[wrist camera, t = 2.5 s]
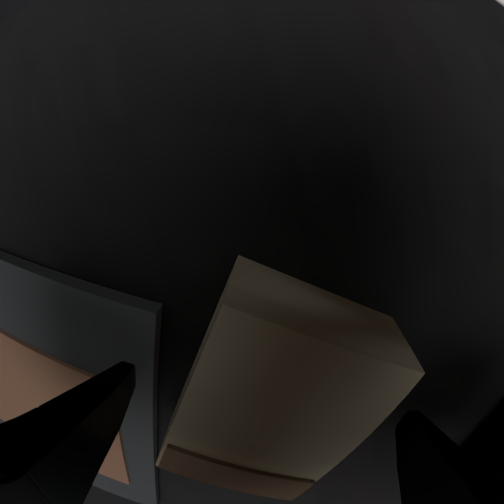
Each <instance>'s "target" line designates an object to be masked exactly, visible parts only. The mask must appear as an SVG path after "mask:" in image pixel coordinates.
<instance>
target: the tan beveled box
mask: <svg viewBox="0 0 504 504" xmlns="http://www.w3.org/2000/svg"><path fill="white" fill-rule="evenodd" d="M424 374H425V372H424V370H423V368H422V366H421V365H420V363H419V361H418V359H417V358H416V356H415V354H414V353H413V351H412V349H411V347H410V346H409V344H408V342H407V341H406V339H405V337H404V336H403V334H402V332H401V331H400V329H399V327H398V326H397V324H396V322H395V321H394V319H393V318H392V317H391V316H388V315H386V314H383V313H381V312H378V311H376V310H373V309H371V308H368V307H366V306H363V305H361V304H358V303H356V302H353V301H351V300H348V299H346V298H343V297H341V296H338V295H336V294H333V293H331V292H328V291H326V290H323V289H321V288H319V287H316V286H314V285H311V284H309V283H306V282H304V281H301V280H299V279H296V278H294V277H291V276H289V275H286V274H284V273H282V272H279V271H277V270H274V269H272V268H269V267H267V266H264V265H262V264H259V263H257V262H255V261H252V260H250V259H247V258H245V257H242V256H240V255H238V257H237V259H236V262H235V264H234V267H233V269H232V271H231V274H230V276H229V278H228V281H227V283H226V286H225V288H224V290H223V293H222V295H221V298H220V300H219V302H218V305H217V307H216V310H215V312H214V314H213V317H212V319H211V322H210V324H209V327H208V329H207V331H206V334H205V336H204V339H203V341H202V344H201V346H200V348H199V351H198V353H197V356H196V358H195V361H194V363H193V366H192V368H191V370H190V373H189V375H188V378H187V380H186V383H185V385H184V388H183V390H182V393H181V395H180V398H179V400H178V402H177V405H176V407H175V410H174V413H173V415H172V418H171V421H170V424H169V427H168V430H167V433H166V435H165V438H164V441H163V444H162V447H161V450H160V453H159V456H158V458H157V461H156V464H155V465H156V466H158V468H161V469H163V470H166V471H169V472H172V473H175V474H178V475H181V476H184V477H187V478H190V479H193V480H197V481H200V482H203V483H207V484H211V485H214V486H218V487H222V488H226V489H230V490H234V491H239V492H244V493H248V494H253V495H259V496H264V497H270V498H276V499H283V500H290V501H292V500H293V499H295V498H296V497H298V496H299V495H301V494H302V493H303V492H305V491H306V490H307V489H309V488H310V487H311V486H313V485H314V484H315V482H316V481H317V480H319V479H320V478H321V477H322V476H324V475H325V474H326V473H327V472H329V471H330V470H331V469H332V468H333V467H335V466H336V465H337V464H338V463H339V462H341V461H342V460H343V459H344V458H345V457H346V456H347V455H349V454H350V453H351V452H352V451H353V450H354V449H355V448H356V447H357V446H358V445H359V444H361V443H362V442H363V441H364V440H365V439H366V438H367V437H368V436H369V435H370V434H371V433H372V432H373V431H374V430H375V429H376V428H377V427H378V426H379V425H380V424H381V423H382V422H383V421H384V420H385V419H386V418H387V417H388V416H389V415H390V414H391V412H392V411H393V410H394V409H395V408H396V407H397V406H398V405H399V404H400V403H401V401H402V400H403V399H404V398H405V397H406V396H407V395H408V393H409V392H410V391H411V390H412V389H413V388H414V386H415V385H416V384H417V383H418V382H419V380H420V379H421V378H422V377H423V375H424Z"/></svg>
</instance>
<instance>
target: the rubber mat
mask: <svg viewBox="0 0 504 504" xmlns="http://www.w3.org/2000/svg"><path fill="white" fill-rule="evenodd" d="M162 309H163V304H162V303H159V302H155V301H151V300H148V299H144V298H141V297H137V296H134V295H130V294H127V293H124V292H120V291H117V290H114V289H110V288H107V287H104V286H101V285H97V284H94V283H91V282H88V281H85V280H82V279H79V278H76V277H73V276H70V275H67V274H64V273H61V272H58V271H55V270H52V269H50V268H47V267H44V266H41V265H38V264H36V263H33V262H30V261H28V260H25V259H22V258H20V257H17V256H14V255H12V254H9V253H7V252H4V251H2V250H0V423H3V422H5V421H8V420H10V419H13V418H15V417H17V416H20V415H22V414H24V413H26V412H28V411H30V410H32V409H34V408H36V407H39V406H40V405H42V404H43V403H45V402H47V401H49V400H51V399H53V398H55V397H57V396H59V395H60V394H62V393H64V392H66V391H68V390H70V389H72V388H73V387H75V386H77V385H79V384H81V383H83V382H84V381H86V380H88V379H90V378H92V377H94V376H95V375H97V374H99V373H101V372H103V371H104V370H106V369H108V368H110V367H112V366H113V365H115V364H117V363H119V362H121V361H126V362H129V363H132V364H134V365H135V369H136V386H135V390H134V392H133V395H132V398H131V400H130V403H129V406H128V409H127V411H126V414H125V417H124V420H123V422H122V425H121V428H120V430H119V432H118V434H117V436H116V438H115V440H114V442H113V444H112V446H111V448H110V450H109V452H108V454H107V456H106V458H105V460H104V462H103V464H102V466H101V468H100V470H99V472H98V474H97V476H96V478H95V480H94V482H93V484H92V485H94V486H96V487H98V488H101V489H103V490H106V491H108V492H111V493H113V494H116V495H118V496H121V497H124V498H126V499H129V500H132V501H135V502H138V503H141V504H159V489H158V466H156V465H155V464H156V461H157V397H158V369H159V350H160V335H161V321H162Z"/></svg>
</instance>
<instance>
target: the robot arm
mask: <svg viewBox="0 0 504 504" xmlns="http://www.w3.org/2000/svg"><path fill="white" fill-rule="evenodd" d="M135 386H136V369H135V365H134V364H132V363H129V362H126V361H121V362H119V363H117V364H115V365H113V366H112V367H110V368H108V369H106V370H104V371H103V372H101V373H99V374H97V375H95V376H94V377H92V378H90V379H88V380H86V381H84V382H83V383H81V384H79V385H77V386H75V387H73V388H72V389H70V390H68V391H66V392H64V393H62V394H60V395H59V396H57V397H55V398H53V399H51V400H49V401H47V402H45V403H43V404H42V405H40V406H39V407H36V408H34V409H32V410H30V411H28V412H26V413H24V414H22V415H20V416H17V417H15V418H13V419H10V420H8V421H5V422H3V423H0V504H83V503H84V501H85V498H86V496H87V494H88V492H89V490H90V488H91V486H92V484H93V482H94V480H95V478H96V476H97V474H98V472H99V470H100V468H101V466H102V464H103V462H104V460H105V458H106V456H107V454H108V452H109V450H110V448H111V446H112V444H113V442H114V440H115V438H116V436H117V434H118V432H119V430H120V428H121V425H122V422H123V420H124V417H125V414H126V411H127V409H128V406H129V403H130V400H131V398H132V395H133V392H134V390H135ZM395 435H396V453H397V470H398V477H399V485H400V493H401V502H402V504H504V401H503V402H502V404H501V405H500V406H499V408H498V409H497V410H496V412H495V413H494V414H493V415H492V417H491V418H490V419H489V420H488V422H487V423H486V424H485V425H484V426H483V428H482V429H481V430H480V431H479V432H478V433H477V435H476V436H475V437H474V438H473V439H472V440H471V441H470V442H469V444H468V445H467V446H466V447H465V448H464V449H463V450H462V449H461V448H460V447H459V446H458V445H457V444H456V443H454V442H453V441H452V440H451V439H450V438H449V437H448V436H447V435H445V434H444V433H443V432H442V431H441V430H440V429H439V428H438V427H437V426H435V425H434V424H433V423H432V422H431V421H430V420H429V419H428V418H427V417H425V416H424V415H423V414H422V413H421V412H420V411H418V410H410V411H408V412H406V414H405V415H404V416H403V418H402V419H401V420H400V422H399V423H398V424H397V426H396V430H395Z"/></svg>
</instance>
